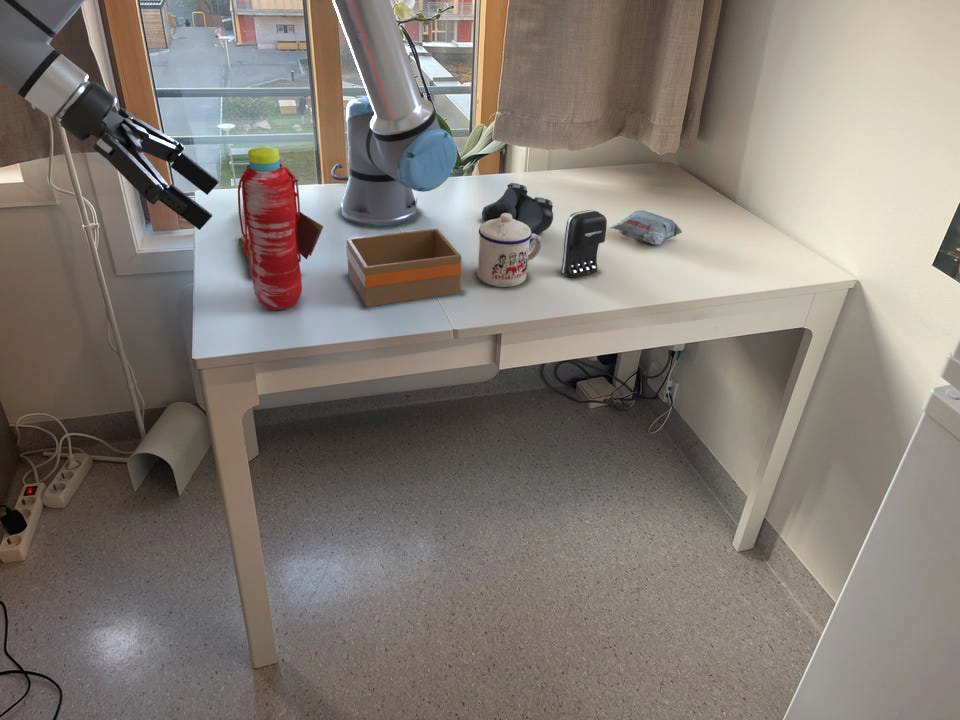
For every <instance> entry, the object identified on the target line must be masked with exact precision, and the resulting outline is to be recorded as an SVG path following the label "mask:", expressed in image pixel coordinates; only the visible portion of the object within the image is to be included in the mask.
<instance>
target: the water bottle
mask: <svg viewBox="0 0 960 720" xmlns="http://www.w3.org/2000/svg"><path fill="white" fill-rule="evenodd" d="M247 156H248V157H247V158H248V162H249V164H248V165H247V166H246V168H245V170H244V172H243V174H242V175H241V177H240V179H239V182H238V187H237V204H238V206H237V207H238V217H239V218H238V219H239V225H240V231H241V235H242V236H244V238H245V243H244V247H243V246H242V247H243V254H244V255H246V251H247V256H250V255H249V250H248V243H249V240H248V239H247V233H249V239H250V246H251V265H252V277H251V279H252V286H253V287H252V288H253V293H254V295H255V298H256V299H257V301H258V303H259V304H260V305H261V306H262V307H264V308H266V309H267V310H273V311H283V310H288V309H291V308H293V307H294V306H295V305H296V304H297V303H298V302H299V301H300V299H301V295H302V291H303V282H302V273H301V272H302V271H301V267H300V263H301V261H302V258H301V256H302V257H303V258H304V259H305V260H306V261H307V260H308V258H309V256H310V257H312V254H313V252H314V250H315V247H316V245H317V243H318V241H319V238H320V236H321V234H322V232H323V229H324V226H325V225H322V224H320V223H319V222H317V221H316V220H315V219H312V218H311V217H309V216H308V215H306V214H304V213H302V211H301V203H300V192H299V183H298V182H299V176H295V174H293V173H292V172H291V171H290V169H289V168H287V167H285V166H284V165H283V164H282V163H281V162H280V160H281V157H280V151H279V150H278V148H275V147H271V146H258V147H253V148H251V149H249V150H248V151H247ZM241 196H242V203H241ZM241 204H242V206H241ZM241 207H242V208H243V209H242V208H241ZM242 210H243V219H242ZM243 221H244V222H243ZM243 224H244V226H243Z"/></svg>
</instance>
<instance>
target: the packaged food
mask: <svg viewBox="0 0 960 720" xmlns="http://www.w3.org/2000/svg"><path fill="white" fill-rule="evenodd" d="M609 229H614V230H617V231H618V232H619V233H620V234H621V235H623V236H626V237H628V238H632V239H635V240H638V241H640V242H643V243H647V244H651V245H654V246H656V245H657V246H658V245H661V244H663V243H664V241H666V240H669V239H671V238H673V237H676V236H677V235H680V234H682V233H683V230H682V229H681V228H680V226H679V225H678V224H677V223H676V222H675V221H674V220H673V219H671V218H668V217H665V216H662V215H659V214H655V212H654V213H653V212H651V211H648V210H644V209H642V210H635V211H633V212H632V213H630V214H629V215H627V216H626V217H624V218H623V219H622V220H620V222H617V223H614V224H611V225H609Z"/></svg>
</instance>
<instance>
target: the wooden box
mask: <svg viewBox="0 0 960 720" xmlns="http://www.w3.org/2000/svg"><path fill="white" fill-rule="evenodd" d="M345 246H346V258H347V271H348V272H347V273H348V275H347V277H349V279H350V282H351V283H352V284H353V286H354V288H355V290H356V292H357V293H358V296H359V297H360V299H361V301H362V302H363V304H364V306H365V307H366V308H369V307H376V306H383V305H390V304H398V303H403V302H411V301H418V300H425V299H431V298H438V297H444V296H445V297H446V296H451V295H459V294H460V293H461V274H462V255H461V254H460V253H459V251H458V250H457V249H456V248H455V247H454V245H452V243H450V241H449V240H448V239H447V238H446V236H444V235H443V234H442V232H441V231H440V230H439V229H438V228H429V229H421V230H411V231H404V232H393V233H387V234H385V233H384V234H376V235H369V236H367V235H366V236H360V237H350V238H346V245H345Z"/></svg>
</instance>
